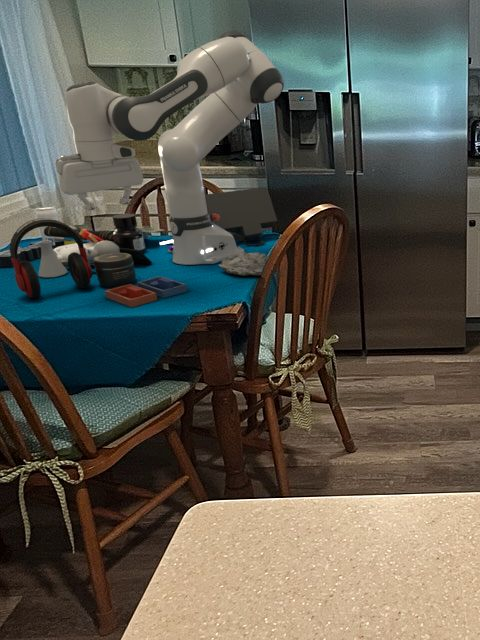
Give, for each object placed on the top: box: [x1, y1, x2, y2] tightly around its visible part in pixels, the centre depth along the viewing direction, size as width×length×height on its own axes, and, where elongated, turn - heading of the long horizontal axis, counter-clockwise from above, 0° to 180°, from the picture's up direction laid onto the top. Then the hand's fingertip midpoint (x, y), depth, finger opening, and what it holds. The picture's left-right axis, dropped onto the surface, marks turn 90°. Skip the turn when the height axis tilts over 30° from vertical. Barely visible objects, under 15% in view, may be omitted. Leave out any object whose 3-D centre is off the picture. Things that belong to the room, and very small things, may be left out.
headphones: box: [9, 218, 93, 299], centre depth 174 cm, size 18×10×20 cm, turn 134°
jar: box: [93, 253, 137, 289], centre depth 184 cm, size 10×10×8 cm
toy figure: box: [76, 227, 104, 244], centre depth 214 cm, size 2×7×12 cm
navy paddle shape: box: [150, 277, 174, 290], centre depth 179 cm, size 9×4×3 cm, turn 53°
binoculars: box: [53, 241, 96, 260], centre depth 206 cm, size 10×16×5 cm, turn 141°
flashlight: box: [44, 226, 115, 243], centre depth 218 cm, size 4×5×25 cm
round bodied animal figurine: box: [84, 240, 120, 265], centre depth 195 cm, size 7×12×8 cm, turn 138°
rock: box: [218, 252, 280, 277], centre depth 196 cm, size 17×4×15 cm
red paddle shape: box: [119, 286, 143, 299], centre depth 173 cm, size 9×4×3 cm, turn 53°
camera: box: [205, 186, 278, 243], centre depth 229 cm, size 25×16×16 cm, turn 126°
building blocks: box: [167, 245, 173, 254], centre depth 218 cm, size 6×8×2 cm
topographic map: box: [111, 225, 166, 234], centre depth 223 cm, size 19×19×2 cm
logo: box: [0, 238, 72, 268], centre depth 209 cm, size 24×3×10 cm
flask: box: [37, 240, 69, 278], centre depth 191 cm, size 7×7×10 cm
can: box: [35, 205, 65, 241], centre depth 226 cm, size 6×6×12 cm
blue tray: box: [136, 276, 188, 299], centre depth 180 cm, size 13×7×2 cm, turn 53°
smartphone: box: [119, 248, 153, 265], centre depth 202 cm, size 7×1×15 cm
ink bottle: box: [112, 213, 146, 253], centre depth 213 cm, size 10×9×12 cm
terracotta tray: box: [104, 283, 158, 308], centre depth 173 cm, size 13×7×2 cm, turn 53°
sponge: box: [59, 240, 89, 245], centre depth 216 cm, size 10×9×3 cm
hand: (108, 207), depth 171 cm, fingers open, 8 cm apart
